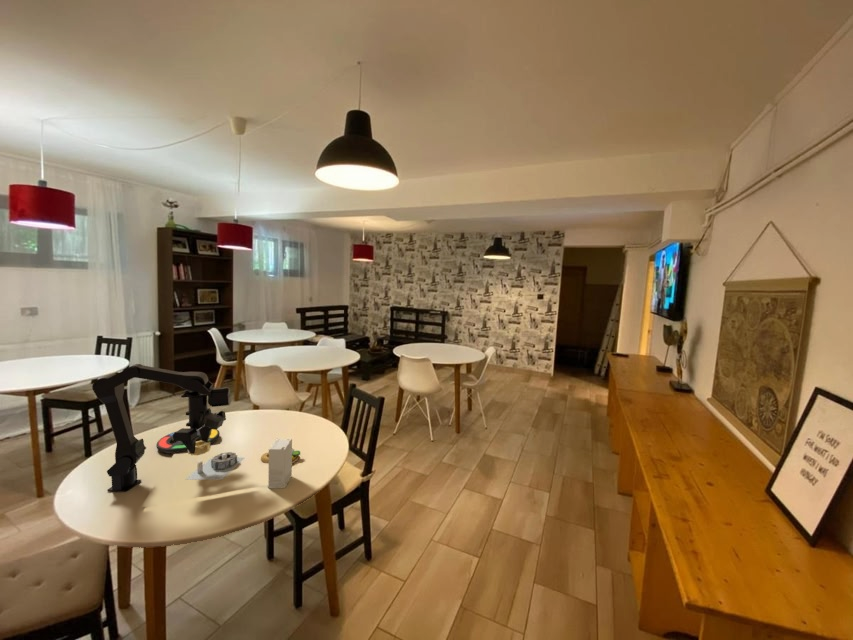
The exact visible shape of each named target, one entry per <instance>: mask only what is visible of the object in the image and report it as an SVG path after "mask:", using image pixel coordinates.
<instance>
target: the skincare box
mask: <svg viewBox="0 0 853 640" xmlns="http://www.w3.org/2000/svg"><path fill="white" fill-rule="evenodd" d="M292 448H293V438H276V439H275V440H274V441H273V443H272V444H271V446H270V447H269V449H268V452H269V463H268V480H267V481H268V489H286V487H287V485H288V484H289V481H290V480H291V478H292V475H293V474H292V473H293V470H292V469H293V466H292V465H293V464H292Z"/></svg>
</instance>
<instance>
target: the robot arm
mask: <svg viewBox="0 0 853 640" xmlns="http://www.w3.org/2000/svg"><path fill="white" fill-rule="evenodd" d="M134 378H135V379H142V380H147V381H153V382H161V383H166V384H172V385H175V386H178V387H179V388H181V389H183V390H185V392H183V394H181V396H180V398H183V399H184V398H187V403H188V404H187V407H188V411H186V412H185V416H188V422H187V423H185V426H186V427H187V428H184V427H183V428H180V429H178V430H177V432H176V431H174V432H175V433H174V434H173V435H172V436H173V442H177V441H181V442H182V443H183V444H184V445H185V446H186V448H187V449H188V450H189V452H190V453H191V454H194V453H195V445H196V439H197V438H198V437H199V436H197V430H199V432H200V435H201V438H202V439H201V440H207V441H208V440H209V437H210V434H211V431H212V429H213V430H216V429H217V430H219V428H220V427H222V426H223V424H224V422H225V421H226V420H227V418H226V411H224V410H220V411H218V412H214V413H213V412H212V409H211V408H210V407H208V405H209V406H211V407H214V408H215V407H225V406H228V407H229V406H231V404H232V403H231V402H232V394H231V389H230V386H223V387H215V385H214V384H213V383H212V382H211V381H210V380H209V376H208V375H207V373H205V372H203V371H184V372H183V371H176V370H169V369H165V368H159V367H155V366H154V367H153V366H148V365H143V364H141V363H135V364H132V365H131V366H129V367H127V368H126V369H124V370H122V371H120V372H119V373H108V374H107V375H104V376H101V377H100V378H99V379H97V380H95V381H94V382H93V384H92V386H91V389H92V392H93V393H94V394H95V396H96V398H97V399H98V400H99V401H100V402H101V403H102V404H103V405H104V406H105V410H106V414H107V416H108V419H109V420H108V421H109V423H110V426H111V429H112V432H113V436H114V439H115V442H116V445H115V452H114V460H115V463H114V464H112V466H110V467H109V468H108V469H107V470H106V473H107V475H108V477H111V487H109V488H108V489H107V492H121V493H122V492H128V491H129V490H131V489H133V488H134V487H135V486H137V485H138V484H139V483H141V482H142V479H138V468H137V463H139V461H140V460H141V458H143V456H144V455H145V450H146V449H147V447H146V446H145V443H144V442H145V440H144V438H140V439H138V438H137V437H135V434H134V431H133V428H132V425H131V422H130V418H129V415H128V411H127V408H126V405H125V401H124V393H125V383H126V382H128V381H131V380H133V379H134ZM188 427H189V428H188ZM191 454H190V455H191Z"/></svg>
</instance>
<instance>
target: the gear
mask: <svg viewBox="0 0 853 640" xmlns="http://www.w3.org/2000/svg"><path fill="white" fill-rule="evenodd" d="M222 454H227V459H224V460H222ZM213 457H214V458H213V459H211V458H210V459H211V467H212V466H213V469H217V470H221V469H227V468H230V467H232V466H234V465H235V463H237V458H238V454H236V452H232V451H229V452H221V453H220V454H217V455H214V456H213Z"/></svg>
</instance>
